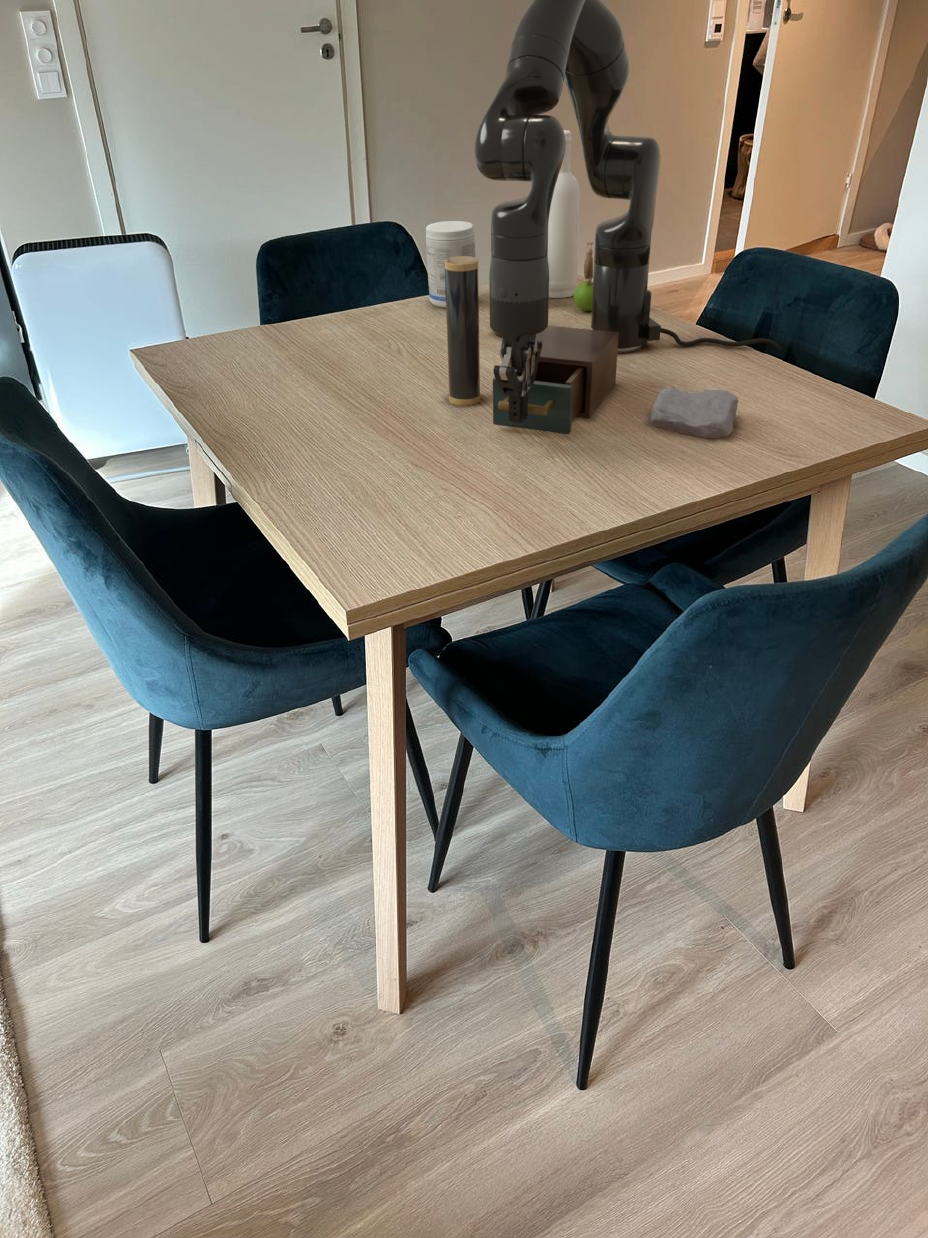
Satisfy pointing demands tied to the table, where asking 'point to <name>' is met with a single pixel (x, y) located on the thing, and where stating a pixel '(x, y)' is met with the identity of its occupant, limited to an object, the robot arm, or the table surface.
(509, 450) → the table surface
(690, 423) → the stone block
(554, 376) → the drawer
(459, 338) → the black cylinder
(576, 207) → the bottle
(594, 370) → the cabinet
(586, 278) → the snail figurine
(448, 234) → the supplement tub
